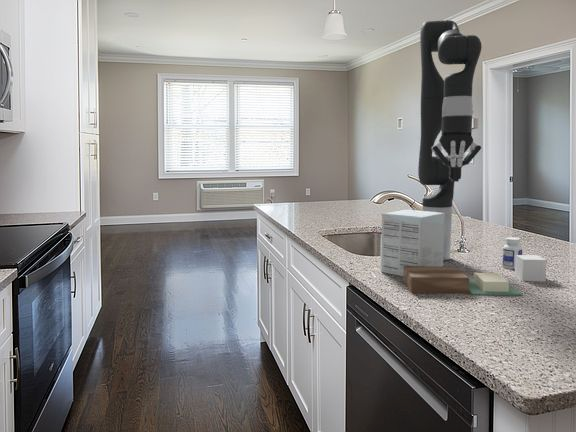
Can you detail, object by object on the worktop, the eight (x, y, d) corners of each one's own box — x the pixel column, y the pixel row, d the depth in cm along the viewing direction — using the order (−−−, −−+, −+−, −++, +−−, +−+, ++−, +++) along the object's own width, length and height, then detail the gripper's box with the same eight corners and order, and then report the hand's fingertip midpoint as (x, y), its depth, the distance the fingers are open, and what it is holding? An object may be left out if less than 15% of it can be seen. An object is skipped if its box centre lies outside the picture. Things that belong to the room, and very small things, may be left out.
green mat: (456, 280, 135) (456, 278, 135) (501, 280, 134) (501, 279, 134) (471, 294, 121) (472, 293, 121) (522, 295, 120) (522, 293, 120)
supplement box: (404, 264, 154) (405, 208, 152) (443, 271, 145) (445, 212, 142) (379, 272, 145) (380, 213, 142) (419, 280, 135) (421, 217, 133)
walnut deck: (403, 280, 135) (403, 266, 135) (455, 281, 134) (456, 266, 134) (411, 293, 123) (411, 277, 123) (468, 293, 122) (469, 277, 122)
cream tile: (497, 273, 131) (496, 282, 131) (474, 272, 131) (473, 281, 132) (509, 281, 122) (508, 291, 122) (483, 281, 123) (483, 291, 123)
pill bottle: (516, 265, 152) (517, 236, 151) (524, 269, 147) (526, 239, 146) (499, 265, 152) (500, 237, 151) (507, 269, 147) (508, 240, 146)
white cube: (514, 275, 140) (515, 254, 139) (536, 276, 139) (537, 255, 139) (522, 281, 134) (523, 259, 133) (545, 281, 133) (546, 259, 133)
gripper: (478, 115, 133) (475, 180, 135) (428, 116, 134) (426, 180, 136) (487, 113, 125) (484, 182, 128) (434, 114, 126) (432, 182, 128)
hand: (454, 181), depth 132 cm, fingers closed
